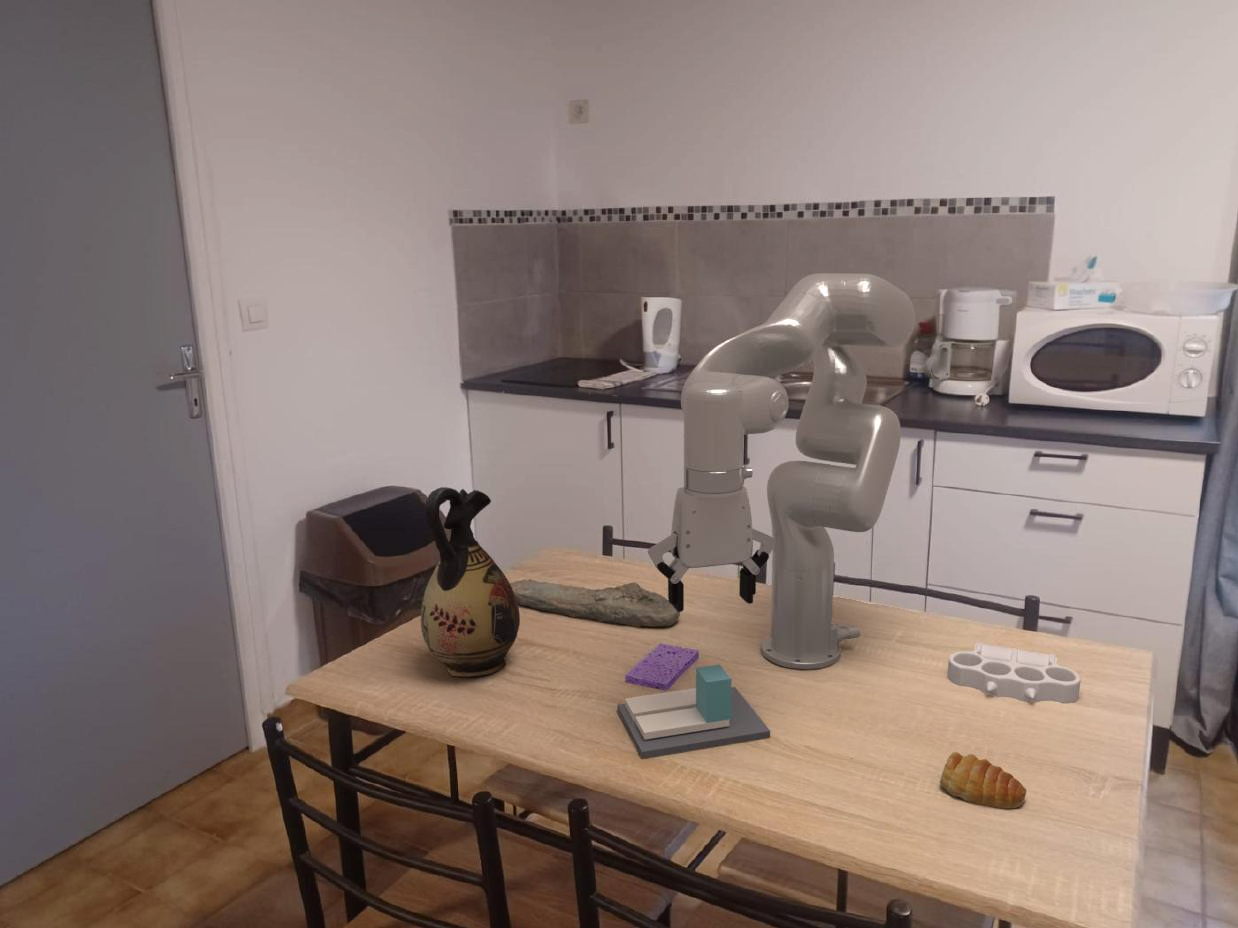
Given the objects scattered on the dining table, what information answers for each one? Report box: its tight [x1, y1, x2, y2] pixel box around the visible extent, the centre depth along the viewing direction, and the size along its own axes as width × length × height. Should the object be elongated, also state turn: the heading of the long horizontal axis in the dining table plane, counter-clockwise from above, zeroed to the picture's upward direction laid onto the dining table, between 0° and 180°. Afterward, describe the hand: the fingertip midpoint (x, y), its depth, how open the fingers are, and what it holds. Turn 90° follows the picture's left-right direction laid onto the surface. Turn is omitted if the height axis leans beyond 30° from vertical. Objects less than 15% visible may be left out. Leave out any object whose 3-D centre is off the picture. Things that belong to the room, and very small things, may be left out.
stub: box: [635, 664, 732, 740], centre depth 127 cm, size 12×4×7 cm, turn 104°
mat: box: [616, 686, 771, 760], centre depth 130 cm, size 18×13×1 cm
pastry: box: [939, 751, 1027, 809], centre depth 113 cm, size 9×7×4 cm
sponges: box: [624, 642, 700, 692], centre depth 146 cm, size 7×13×2 cm, turn 152°
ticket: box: [624, 687, 696, 721], centre depth 132 cm, size 12×5×1 cm, turn 104°
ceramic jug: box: [420, 486, 521, 678], centre depth 145 cm, size 17×15×30 cm
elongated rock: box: [509, 578, 681, 628], centre depth 170 cm, size 35×5×10 cm
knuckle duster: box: [947, 642, 1082, 704], centre depth 140 cm, size 3×18×15 cm
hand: (712, 603), depth 124 cm, fingers open, 9 cm apart
